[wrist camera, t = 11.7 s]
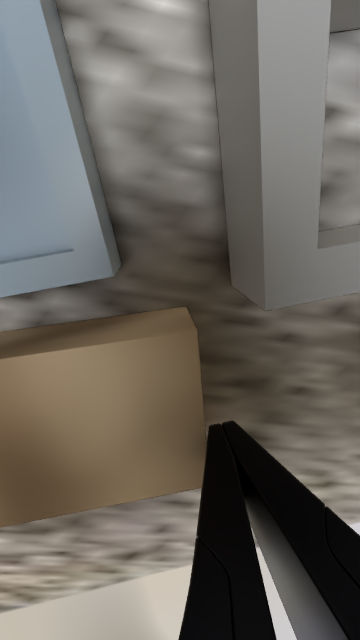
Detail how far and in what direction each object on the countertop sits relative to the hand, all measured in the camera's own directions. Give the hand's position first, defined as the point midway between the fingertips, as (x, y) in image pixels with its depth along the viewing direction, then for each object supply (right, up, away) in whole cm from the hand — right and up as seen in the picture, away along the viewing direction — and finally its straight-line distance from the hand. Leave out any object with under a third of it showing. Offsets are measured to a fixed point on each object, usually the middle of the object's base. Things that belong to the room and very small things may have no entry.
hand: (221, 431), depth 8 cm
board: (-6, +1, +1) cm, 6 cm away
